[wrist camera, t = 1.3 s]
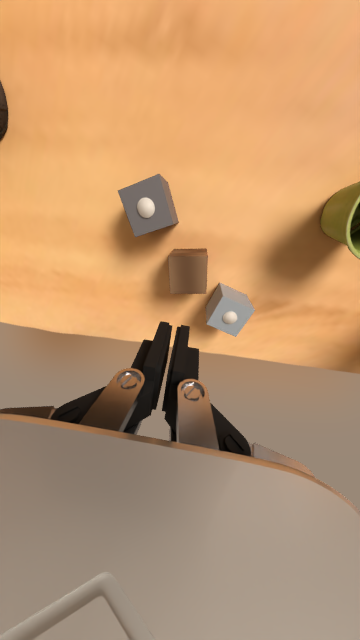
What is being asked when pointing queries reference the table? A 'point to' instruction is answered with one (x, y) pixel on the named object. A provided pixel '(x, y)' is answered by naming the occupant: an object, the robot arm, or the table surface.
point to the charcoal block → (149, 205)
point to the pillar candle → (3, 112)
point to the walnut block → (188, 271)
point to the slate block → (228, 310)
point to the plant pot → (344, 217)
